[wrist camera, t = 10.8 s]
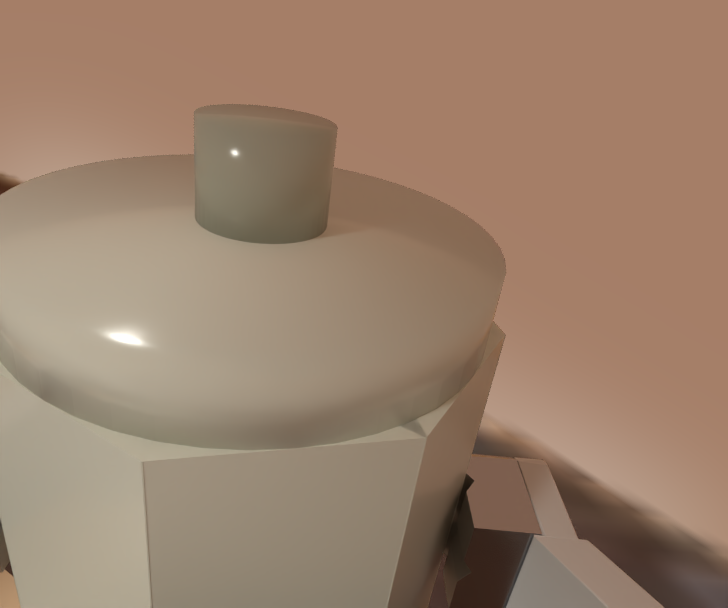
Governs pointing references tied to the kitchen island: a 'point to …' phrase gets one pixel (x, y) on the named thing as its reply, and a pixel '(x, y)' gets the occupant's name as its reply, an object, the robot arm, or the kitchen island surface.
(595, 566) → the robot arm
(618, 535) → the kitchen island surface
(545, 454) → the kitchen island surface
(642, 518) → the kitchen island surface
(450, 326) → the lidded octagonal canister
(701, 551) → the kitchen island surface
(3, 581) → the mat
